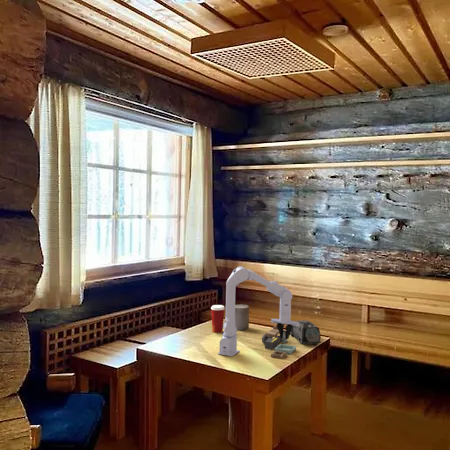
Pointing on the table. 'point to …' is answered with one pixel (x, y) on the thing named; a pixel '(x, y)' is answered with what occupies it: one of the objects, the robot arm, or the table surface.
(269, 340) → the chock
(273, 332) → the trolley
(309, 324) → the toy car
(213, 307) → the coffee cup
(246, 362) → the table surface
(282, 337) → the pin
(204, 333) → the table surface
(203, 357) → the table surface
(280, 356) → the pin holder
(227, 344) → the robot arm
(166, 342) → the table surface
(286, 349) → the tray
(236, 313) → the pillar candle
